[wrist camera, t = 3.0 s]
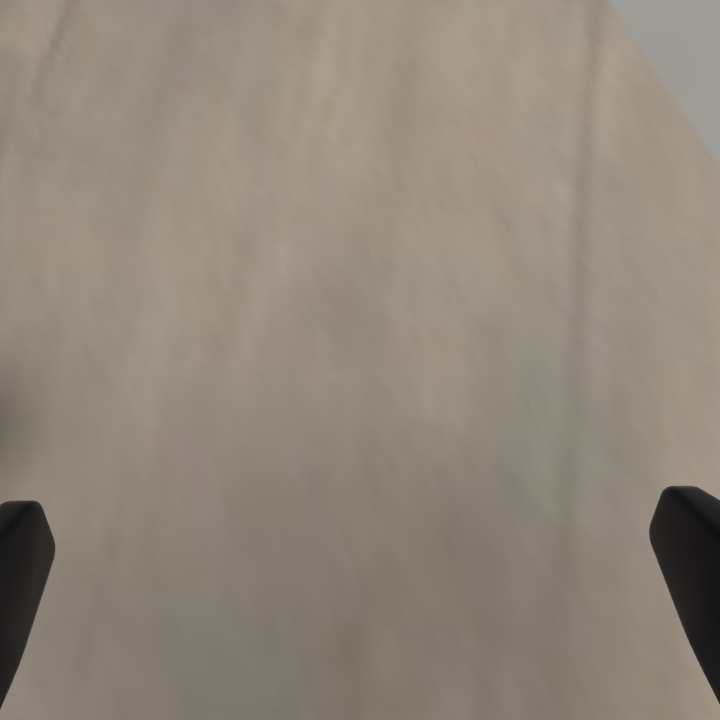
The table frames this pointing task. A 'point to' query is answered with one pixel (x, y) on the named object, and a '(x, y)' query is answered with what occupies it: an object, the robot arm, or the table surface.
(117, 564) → the table surface
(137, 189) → the table surface
